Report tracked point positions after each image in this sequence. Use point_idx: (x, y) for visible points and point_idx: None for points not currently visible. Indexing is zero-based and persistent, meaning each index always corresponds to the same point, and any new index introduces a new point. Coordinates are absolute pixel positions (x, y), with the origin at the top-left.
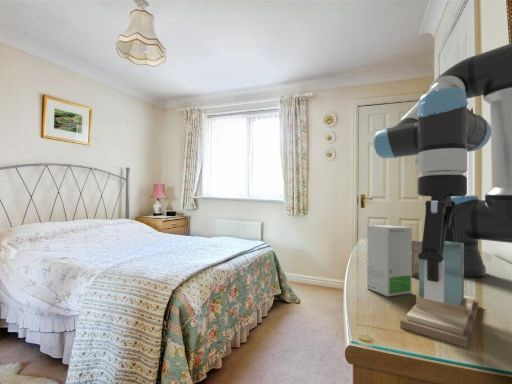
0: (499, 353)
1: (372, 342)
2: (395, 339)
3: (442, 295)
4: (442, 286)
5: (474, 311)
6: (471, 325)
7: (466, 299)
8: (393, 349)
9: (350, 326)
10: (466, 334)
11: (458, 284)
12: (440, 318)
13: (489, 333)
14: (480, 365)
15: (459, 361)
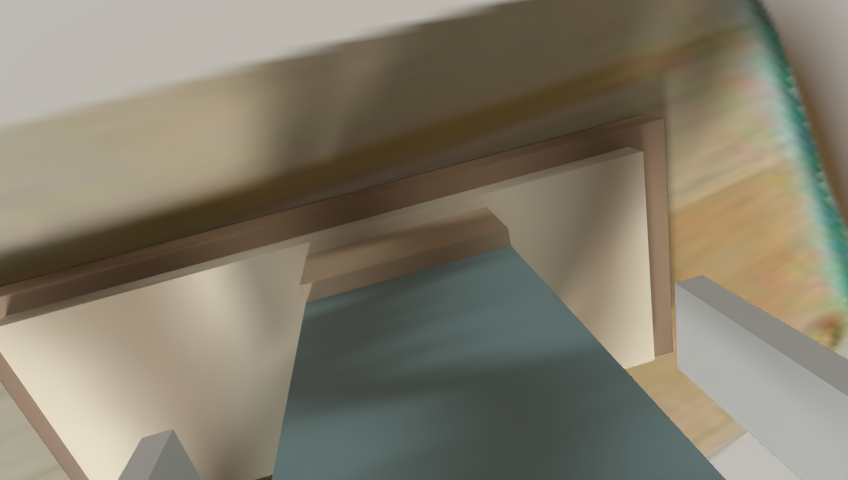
0: (588, 10)
1: (832, 313)
2: (761, 290)
3: (738, 299)
4: (788, 332)
5: (221, 241)
6: (447, 174)
7: (332, 277)
8: (836, 254)
9: None
10: (606, 140)
11: (573, 318)
12: (580, 266)
13: (385, 110)
14: (755, 27)
15: (775, 88)
